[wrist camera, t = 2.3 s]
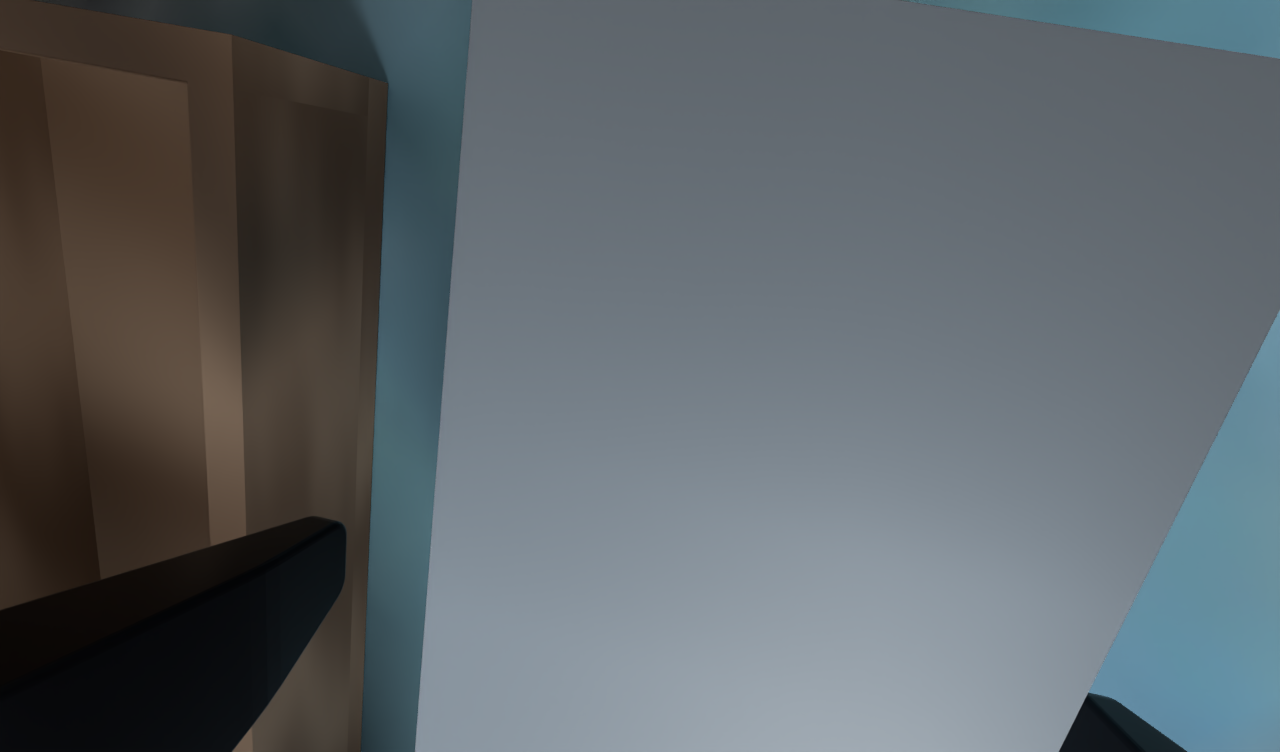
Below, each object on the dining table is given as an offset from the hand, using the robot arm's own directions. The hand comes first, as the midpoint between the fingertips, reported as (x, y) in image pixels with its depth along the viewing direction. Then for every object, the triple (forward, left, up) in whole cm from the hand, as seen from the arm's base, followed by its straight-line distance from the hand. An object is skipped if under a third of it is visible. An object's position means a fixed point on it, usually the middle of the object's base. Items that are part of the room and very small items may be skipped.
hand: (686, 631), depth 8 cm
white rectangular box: (0, 0, -5) cm, 5 cm away
